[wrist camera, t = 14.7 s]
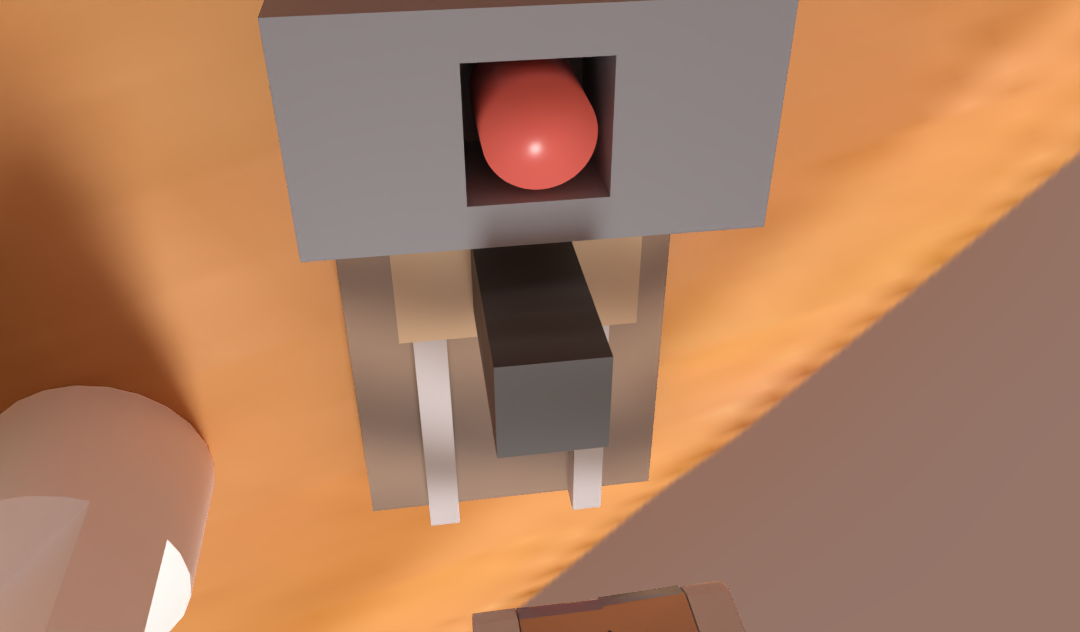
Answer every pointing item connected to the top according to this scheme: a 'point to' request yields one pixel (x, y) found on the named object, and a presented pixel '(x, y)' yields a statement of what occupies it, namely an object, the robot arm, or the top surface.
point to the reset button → (532, 121)
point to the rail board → (484, 404)
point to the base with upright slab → (99, 512)
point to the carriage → (529, 330)
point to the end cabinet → (452, 136)
